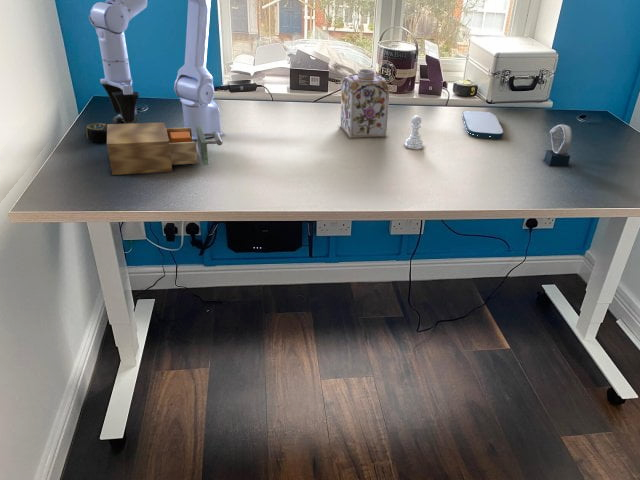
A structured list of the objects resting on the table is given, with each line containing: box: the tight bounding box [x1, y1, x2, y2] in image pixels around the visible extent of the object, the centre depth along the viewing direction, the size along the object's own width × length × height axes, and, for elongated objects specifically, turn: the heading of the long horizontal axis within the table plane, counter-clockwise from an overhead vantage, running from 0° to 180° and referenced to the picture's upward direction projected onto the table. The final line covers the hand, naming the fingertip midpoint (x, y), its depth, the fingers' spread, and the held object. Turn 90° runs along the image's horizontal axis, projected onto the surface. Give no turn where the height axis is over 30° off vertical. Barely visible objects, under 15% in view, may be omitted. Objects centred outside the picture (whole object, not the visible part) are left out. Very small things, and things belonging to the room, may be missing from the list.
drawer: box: [166, 125, 223, 166], centre depth 152 cm, size 17×13×6 cm
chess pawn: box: [404, 115, 424, 150], centre depth 173 cm, size 5×5×9 cm
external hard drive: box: [461, 110, 505, 140], centre depth 196 cm, size 24×12×2 cm, turn 0°
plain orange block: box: [170, 132, 191, 143], centre depth 151 cm, size 5×5×5 cm
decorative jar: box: [340, 68, 390, 139], centre depth 179 cm, size 12×12×18 cm
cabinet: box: [106, 121, 173, 176], centre depth 148 cm, size 14×15×8 cm
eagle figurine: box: [112, 106, 139, 124], centre depth 168 cm, size 8×7×9 cm
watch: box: [543, 123, 572, 167], centre depth 170 cm, size 6×8×11 cm
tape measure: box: [84, 122, 108, 143], centre depth 160 cm, size 7×7×4 cm
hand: (124, 116), depth 148 cm, fingers open, 7 cm apart
